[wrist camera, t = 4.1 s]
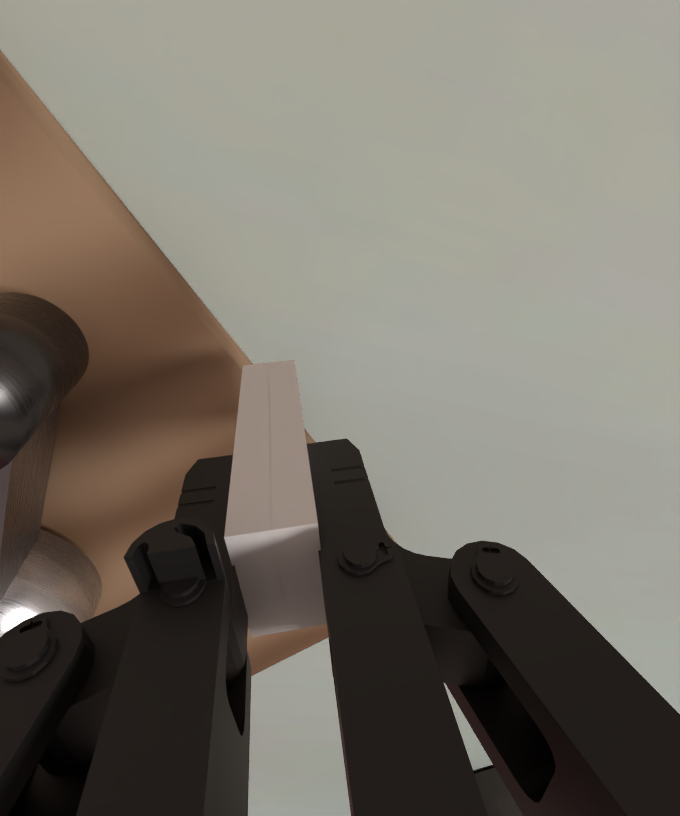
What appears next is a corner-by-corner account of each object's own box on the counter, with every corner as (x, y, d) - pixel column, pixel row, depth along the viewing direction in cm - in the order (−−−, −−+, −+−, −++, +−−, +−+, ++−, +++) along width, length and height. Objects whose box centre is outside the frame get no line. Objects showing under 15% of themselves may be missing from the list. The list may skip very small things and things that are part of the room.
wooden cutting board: (414, 565, 23) (424, 592, 22) (54, 750, 27) (42, 784, 26) (-39, 0, 10) (-90, -26, 9) (-610, 511, 14) (-712, 552, 13)
